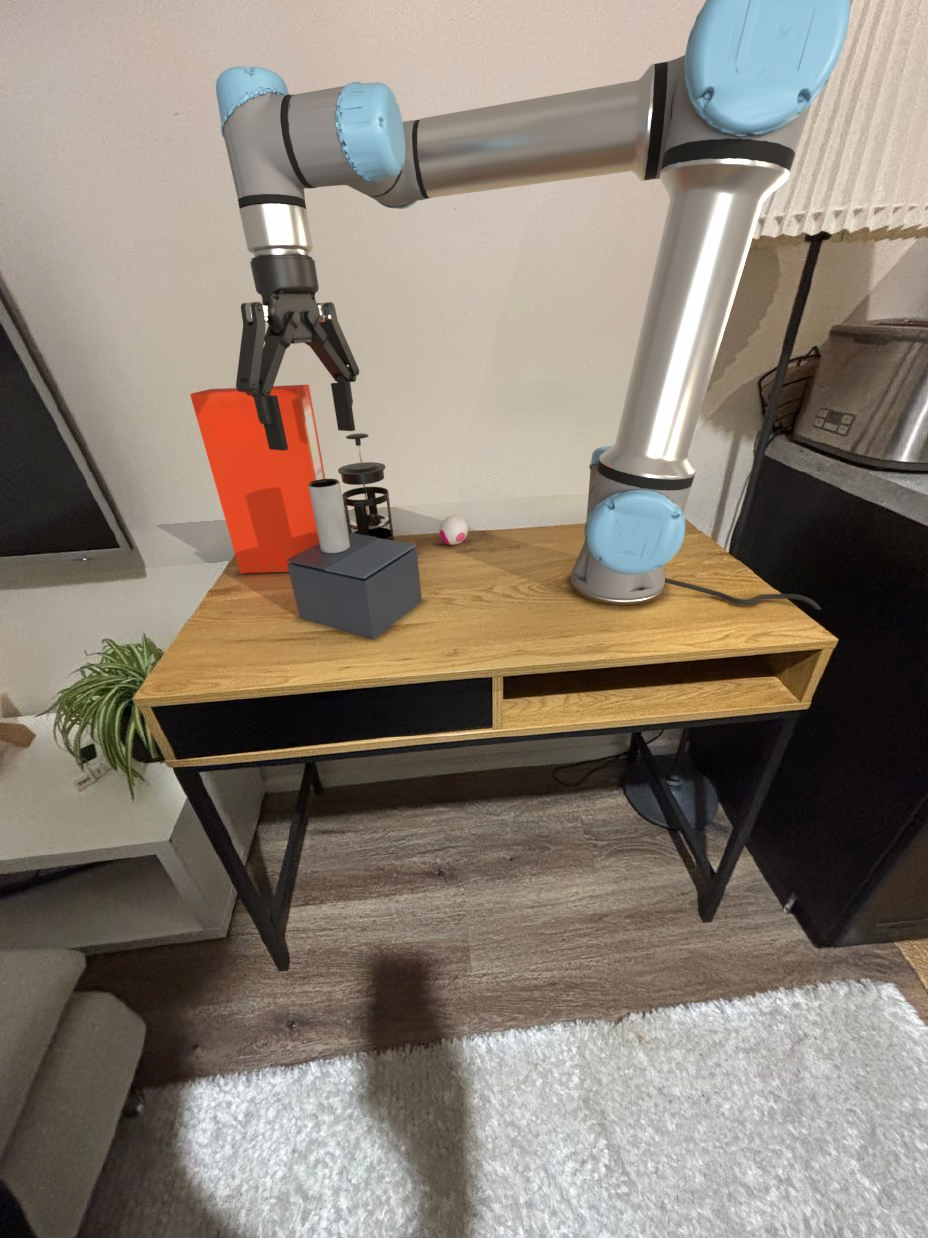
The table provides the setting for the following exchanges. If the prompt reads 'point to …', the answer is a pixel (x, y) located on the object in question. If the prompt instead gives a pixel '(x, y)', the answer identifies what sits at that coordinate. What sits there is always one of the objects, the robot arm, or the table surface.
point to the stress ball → (453, 530)
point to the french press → (366, 496)
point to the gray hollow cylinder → (329, 515)
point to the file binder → (262, 474)
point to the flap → (370, 558)
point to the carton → (354, 590)
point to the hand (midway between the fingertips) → (315, 439)
